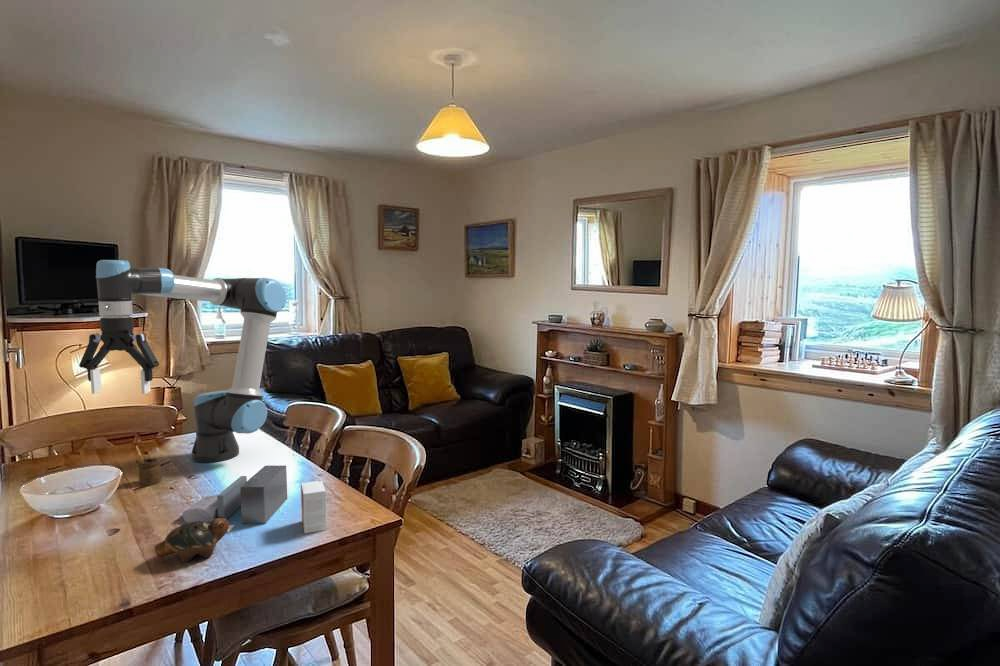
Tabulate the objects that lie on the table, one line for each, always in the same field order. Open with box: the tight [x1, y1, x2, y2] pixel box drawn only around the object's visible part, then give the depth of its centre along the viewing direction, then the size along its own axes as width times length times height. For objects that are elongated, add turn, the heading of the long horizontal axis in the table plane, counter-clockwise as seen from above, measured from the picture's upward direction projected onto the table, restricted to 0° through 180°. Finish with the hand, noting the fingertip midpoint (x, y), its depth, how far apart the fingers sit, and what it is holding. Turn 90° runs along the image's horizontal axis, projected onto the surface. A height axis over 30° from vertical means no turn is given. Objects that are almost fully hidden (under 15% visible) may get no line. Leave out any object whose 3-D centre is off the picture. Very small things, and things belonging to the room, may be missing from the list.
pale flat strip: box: [226, 524, 235, 533], centre depth 140 cm, size 3×10×1 cm, turn 91°
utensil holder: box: [135, 445, 163, 486], centre depth 170 cm, size 6×6×12 cm
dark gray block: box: [240, 465, 288, 525], centre depth 150 cm, size 16×6×10 cm, turn 1°
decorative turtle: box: [154, 518, 230, 563], centre depth 126 cm, size 10×15×8 cm, turn 123°
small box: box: [300, 480, 328, 535], centre depth 142 cm, size 8×6×10 cm
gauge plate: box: [216, 475, 248, 520], centre depth 148 cm, size 19×2×7 cm, turn 1°
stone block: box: [182, 493, 220, 524], centre depth 149 cm, size 12×5×10 cm
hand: (121, 392), depth 152 cm, fingers open, 13 cm apart
